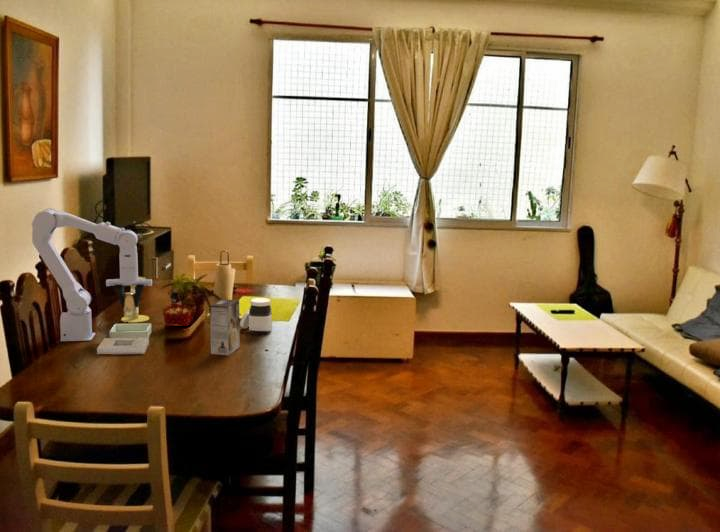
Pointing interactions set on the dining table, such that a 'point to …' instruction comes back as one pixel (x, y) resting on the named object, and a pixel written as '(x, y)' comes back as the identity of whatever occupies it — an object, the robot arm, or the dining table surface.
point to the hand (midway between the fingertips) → (130, 306)
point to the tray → (131, 331)
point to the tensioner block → (123, 346)
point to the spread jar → (258, 317)
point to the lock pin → (129, 305)
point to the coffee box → (224, 326)
